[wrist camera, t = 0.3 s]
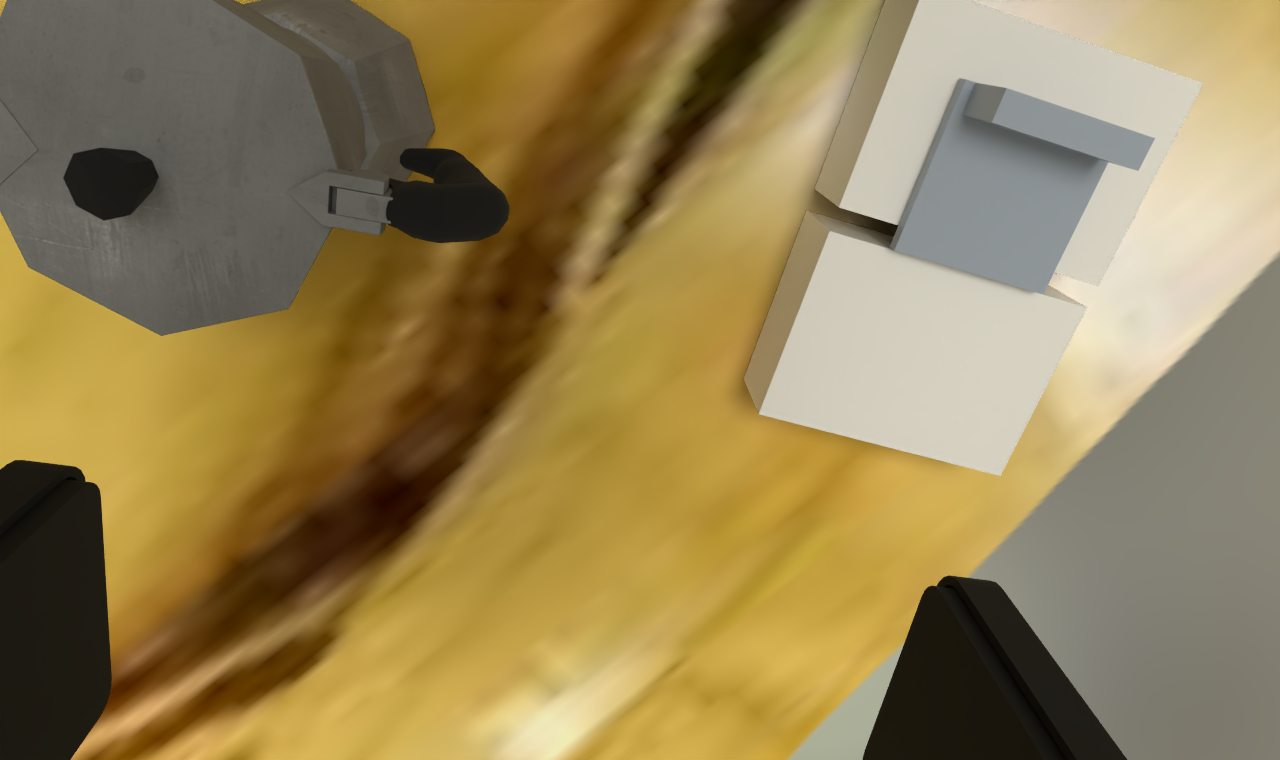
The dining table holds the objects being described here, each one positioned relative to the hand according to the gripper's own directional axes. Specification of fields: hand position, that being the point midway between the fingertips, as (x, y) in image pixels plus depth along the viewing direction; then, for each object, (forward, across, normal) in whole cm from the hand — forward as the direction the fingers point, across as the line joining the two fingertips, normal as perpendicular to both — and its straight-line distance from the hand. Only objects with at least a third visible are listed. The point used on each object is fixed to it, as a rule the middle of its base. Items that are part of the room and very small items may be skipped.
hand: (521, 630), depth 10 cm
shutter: (+26, -17, -3) cm, 31 cm away
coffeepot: (+30, +9, -1) cm, 32 cm away
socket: (+30, -17, 0) cm, 34 cm away
